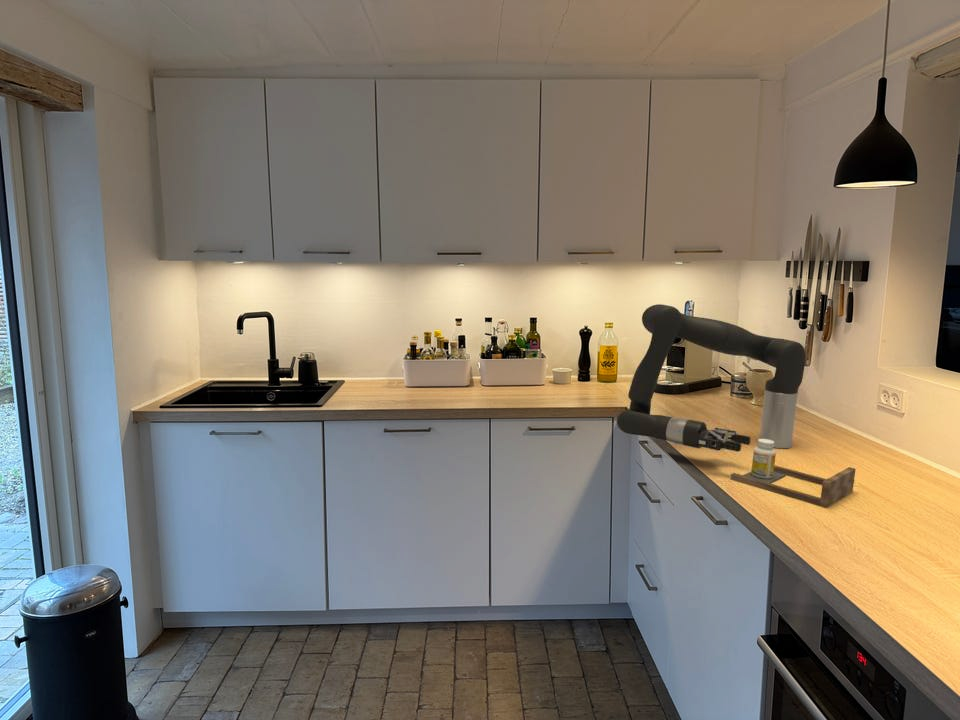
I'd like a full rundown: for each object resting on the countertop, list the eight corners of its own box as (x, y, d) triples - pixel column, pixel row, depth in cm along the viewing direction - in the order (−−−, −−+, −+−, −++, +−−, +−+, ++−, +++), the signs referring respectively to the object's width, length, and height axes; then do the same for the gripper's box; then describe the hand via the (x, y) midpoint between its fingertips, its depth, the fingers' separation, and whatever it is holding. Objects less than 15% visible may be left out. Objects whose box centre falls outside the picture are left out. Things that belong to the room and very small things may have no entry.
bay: (760, 466, 174) (762, 445, 173) (852, 491, 156) (855, 468, 155) (730, 479, 163) (732, 457, 162) (826, 507, 145) (829, 483, 144)
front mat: (759, 469, 171) (759, 467, 171) (785, 476, 166) (785, 474, 166) (738, 478, 163) (739, 476, 163) (765, 485, 158) (765, 484, 158)
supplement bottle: (757, 479, 162) (761, 443, 160) (747, 472, 167) (750, 437, 166) (777, 479, 162) (781, 443, 161) (766, 472, 168) (769, 437, 166)
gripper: (677, 424, 170) (739, 436, 160) (696, 415, 181) (754, 425, 171) (675, 450, 171) (736, 464, 162) (693, 439, 183) (751, 451, 173)
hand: (745, 444), depth 166 cm, fingers open, 8 cm apart
